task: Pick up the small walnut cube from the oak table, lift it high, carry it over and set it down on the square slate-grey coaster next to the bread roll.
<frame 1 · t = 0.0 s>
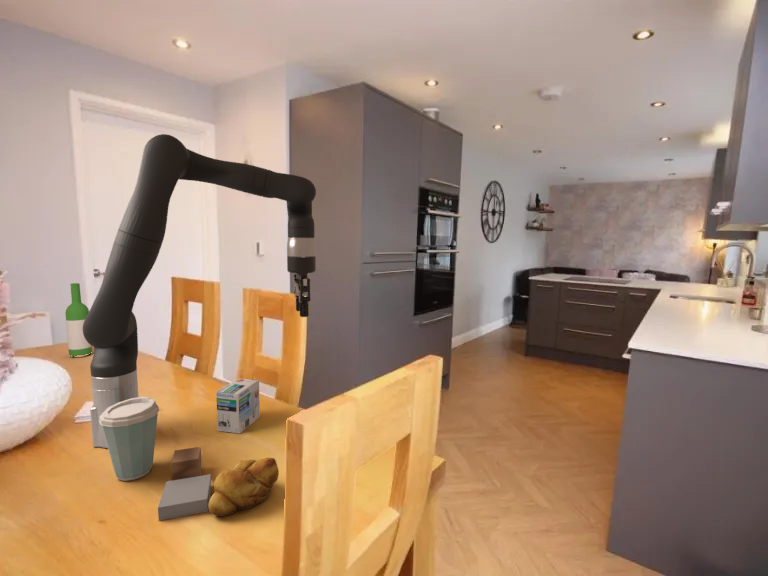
hand: (302, 313, 110), 29 cm above the table, tool pointing down, fingers open, 8 cm apart
bread roll: (241, 501, 77), on the table
walnut cube: (187, 476, 84), on the table
slate coaster: (186, 502, 76), on the table
wine bottle: (81, 355, 165), on the table
disposable coffee cup: (133, 473, 85), on the table
light bulb box: (239, 424, 108), on the table
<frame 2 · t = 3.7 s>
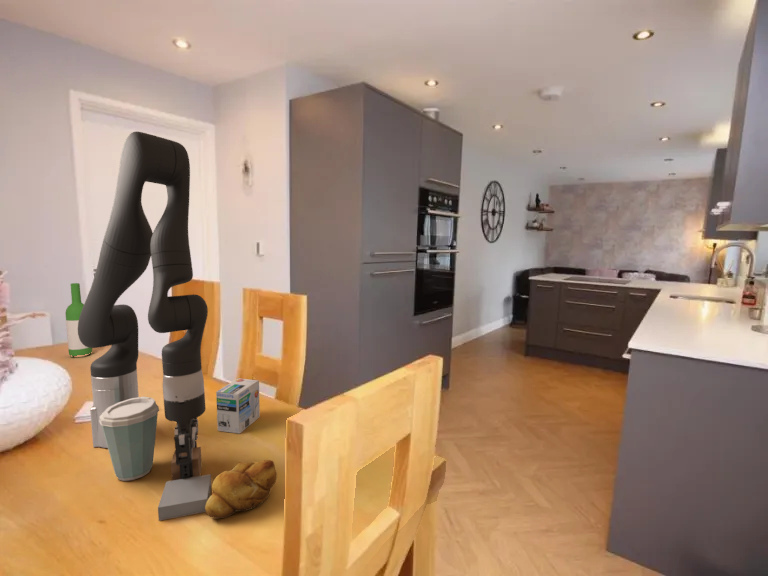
hand: (189, 467, 84), 2 cm above the table, tool pointing down, fingers open, 7 cm apart
nothing on the table moved.
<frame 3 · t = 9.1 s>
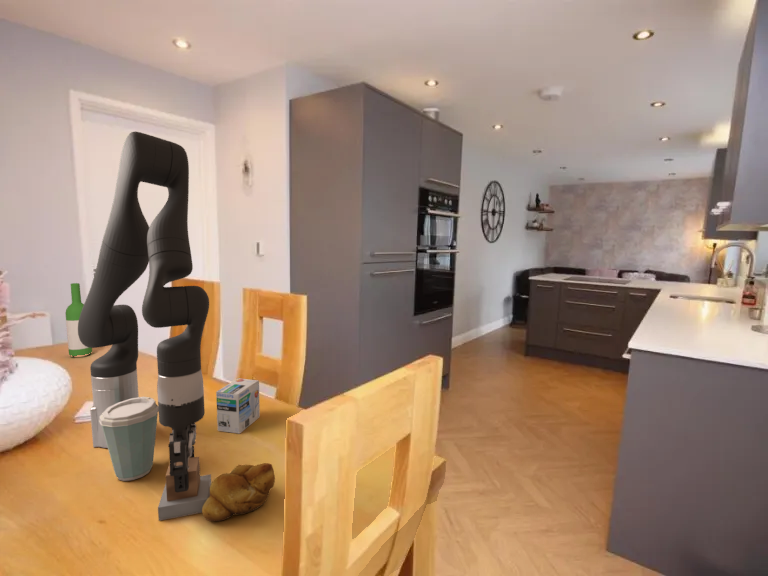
hand: (185, 477, 75), 5 cm above the table, tool pointing down, fingers open, 8 cm apart
walnut cube: (184, 490, 75), point 2 cm above the table, touching slate coaster
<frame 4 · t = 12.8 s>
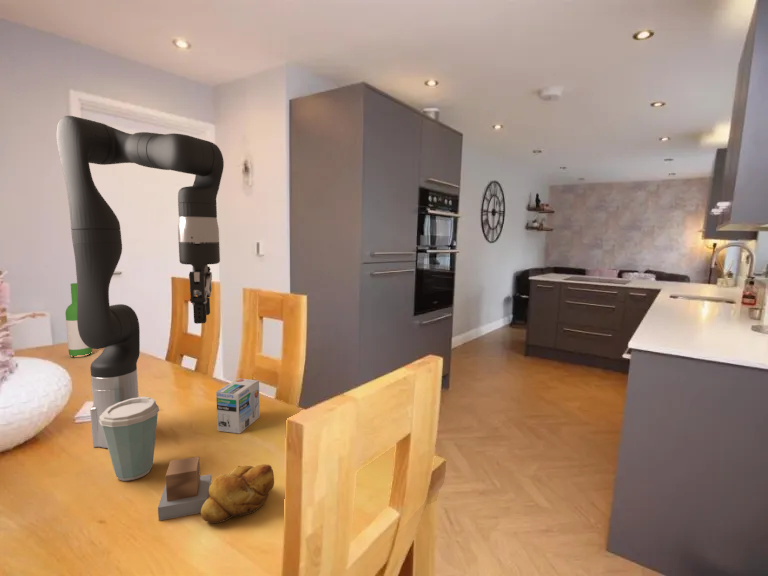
hand: (202, 318, 83), 33 cm above the table, tool pointing down, fingers open, 8 cm apart
at the end: walnut cube 0.3 cm off-centre on the slate coaster, point 2.5 cm above the slate coaster's base; walnut cube tilted 0°; the gripper is holding nothing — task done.
